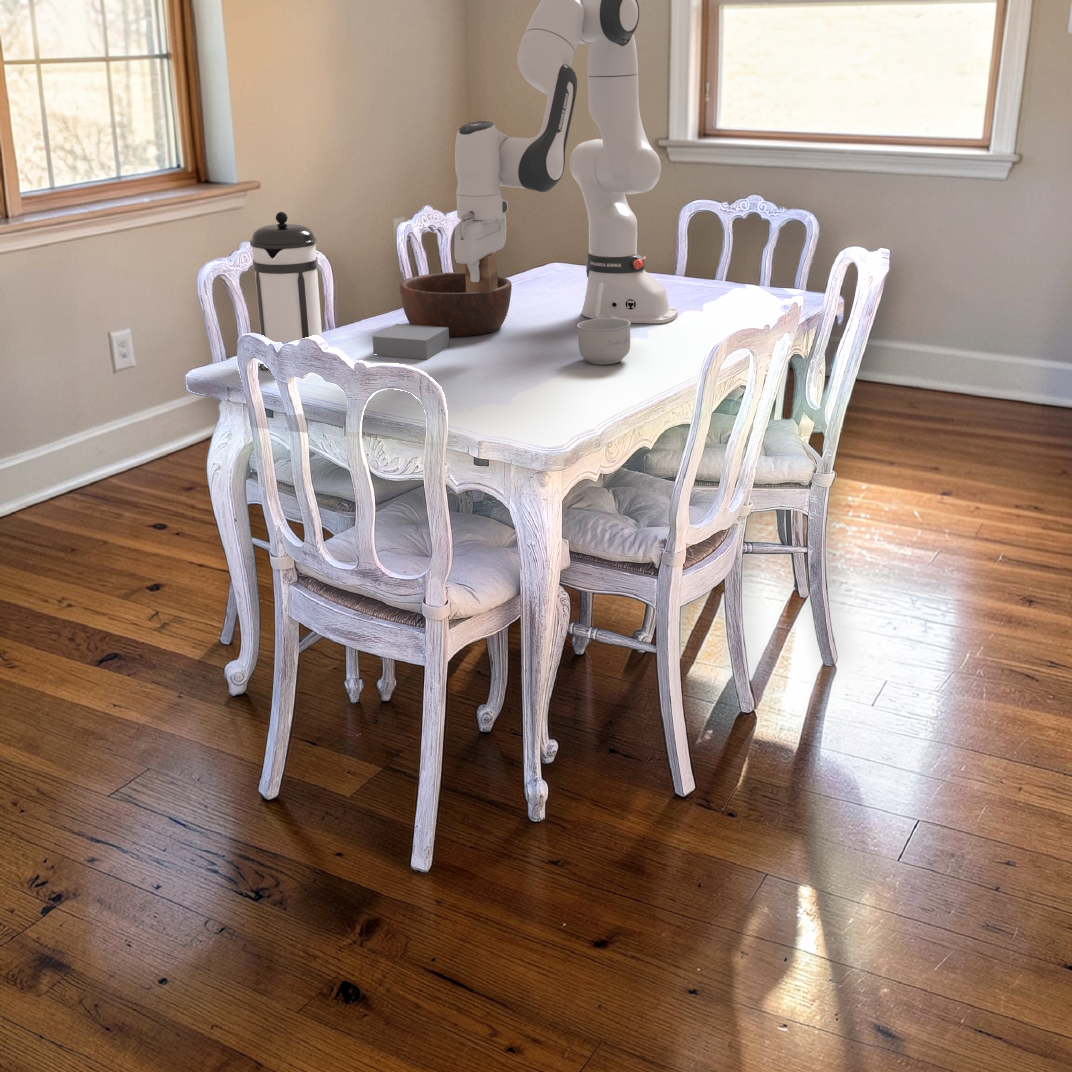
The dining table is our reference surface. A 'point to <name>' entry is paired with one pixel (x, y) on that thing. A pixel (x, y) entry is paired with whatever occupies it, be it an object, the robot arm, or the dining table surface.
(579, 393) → the dining table surface
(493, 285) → the walnut block
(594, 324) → the teacup
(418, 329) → the block
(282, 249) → the coffee press
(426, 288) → the wooden bowl
